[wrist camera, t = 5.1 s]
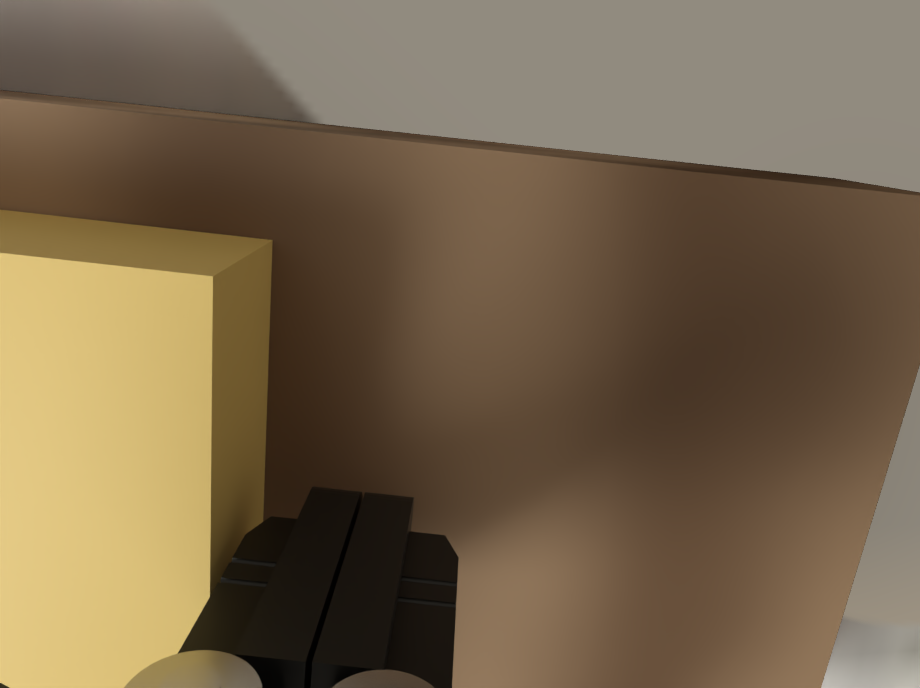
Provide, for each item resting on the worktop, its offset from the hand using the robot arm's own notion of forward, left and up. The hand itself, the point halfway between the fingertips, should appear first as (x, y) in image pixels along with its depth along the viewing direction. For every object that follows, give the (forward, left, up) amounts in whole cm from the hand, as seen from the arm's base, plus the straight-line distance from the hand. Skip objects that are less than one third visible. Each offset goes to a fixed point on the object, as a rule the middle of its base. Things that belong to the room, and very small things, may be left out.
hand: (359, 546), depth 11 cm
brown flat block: (+2, 0, -5) cm, 5 cm away
